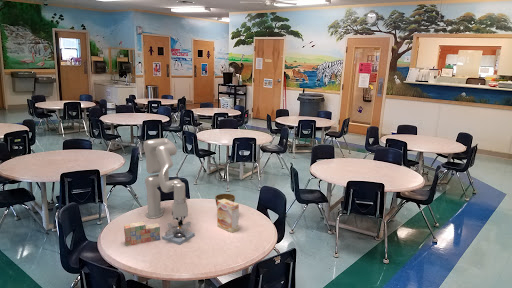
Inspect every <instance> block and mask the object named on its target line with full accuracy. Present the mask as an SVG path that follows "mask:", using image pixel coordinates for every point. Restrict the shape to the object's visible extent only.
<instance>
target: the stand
mask: <svg viewBox="0 0 512 288" xmlns="http://www.w3.org/2000/svg"><path fill="white" fill-rule="evenodd" d="M195 234H196V233H195V232H192V231H190V235H189V236H186V235H185V236H184V237H175V236H174V234H173V235H171V236H168V237H166V236H165V234H164V235H162V236H161V240H164V241H167V242H169V243H173V244H176V245H179V246H180V245H182V244H184V243H186V242H187V241H189V240H190V239H192V238H194V237H195V236H196V235H195Z"/></svg>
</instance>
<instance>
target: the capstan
mask: <svg viewBox="0 0 512 288" xmlns="http://www.w3.org/2000/svg"><path fill="white" fill-rule="evenodd" d="M166 225H167V228H168V229H169V230H166V231H165V232H164V235H165V236H166V237H168V236H171V235H173V234H174V236H175V237H184V236H185V235H186V236H189V235H190V232H191V231H190V230H189V228H191V222H190V221H188V222H185V223H183V225H180V226H178V224H177V225H176V224H175V223H172V222H168V223H167V224H166Z"/></svg>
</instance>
